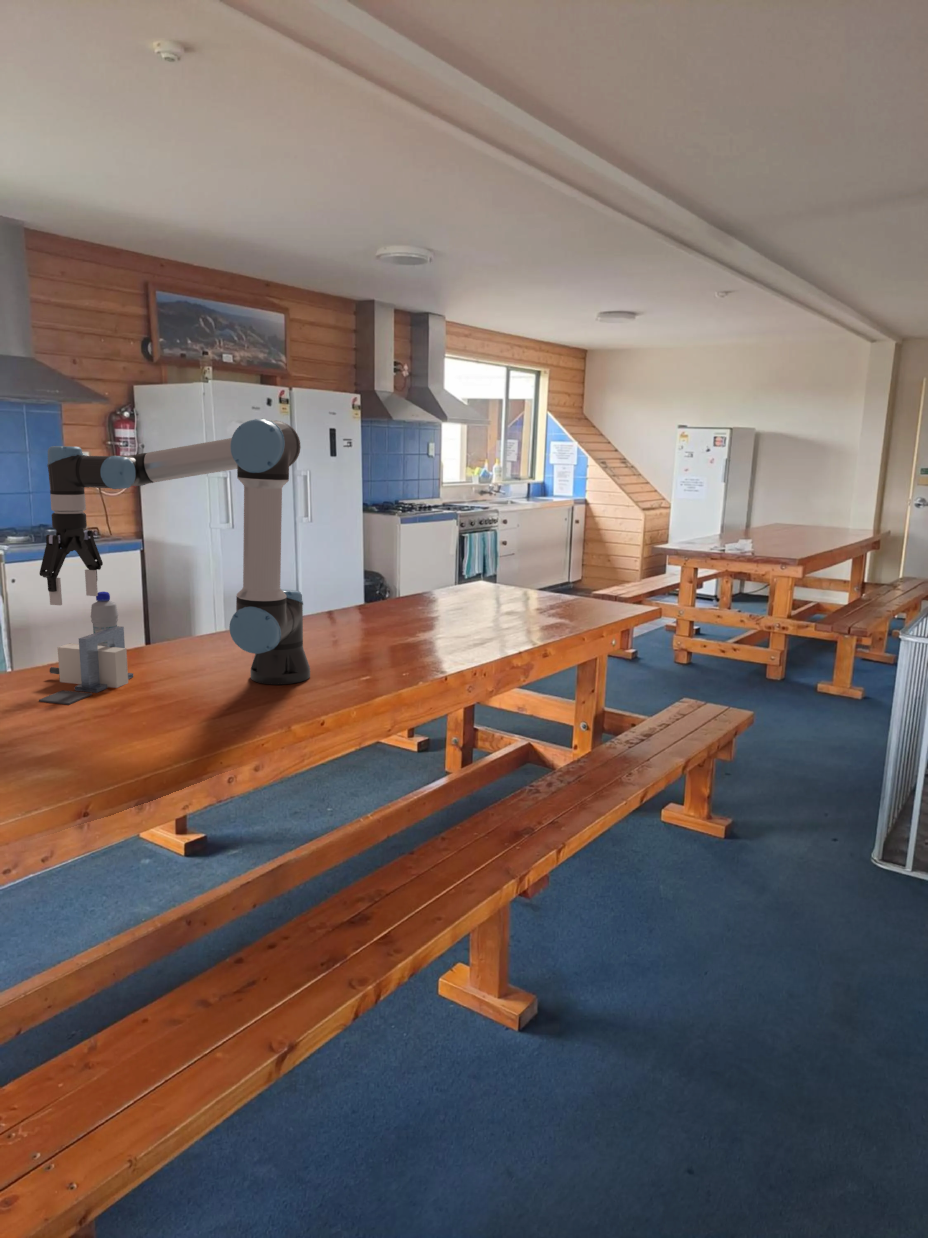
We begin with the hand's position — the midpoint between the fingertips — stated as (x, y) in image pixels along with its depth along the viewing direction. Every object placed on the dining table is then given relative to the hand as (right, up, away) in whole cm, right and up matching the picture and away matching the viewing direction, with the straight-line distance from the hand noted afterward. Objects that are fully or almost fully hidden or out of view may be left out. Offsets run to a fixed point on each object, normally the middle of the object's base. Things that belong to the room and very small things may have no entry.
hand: (74, 600), depth 205 cm
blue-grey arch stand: (+6, -21, +3) cm, 22 cm away
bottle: (0, -17, +19) cm, 26 cm away
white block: (+1, -20, +4) cm, 21 cm away
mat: (+2, -23, -10) cm, 25 cm away
